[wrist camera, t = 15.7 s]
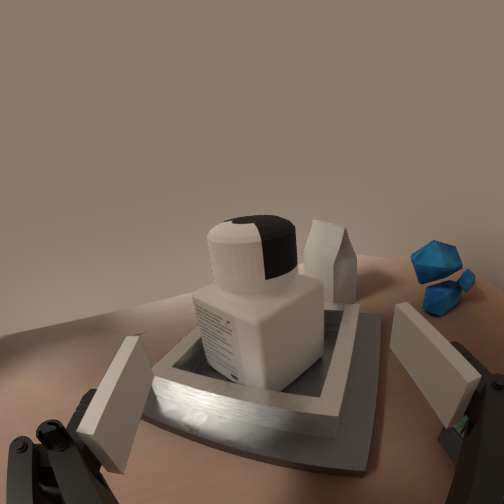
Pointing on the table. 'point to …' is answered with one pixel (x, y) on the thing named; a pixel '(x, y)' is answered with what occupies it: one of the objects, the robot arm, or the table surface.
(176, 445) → the table surface
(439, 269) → the blue lump
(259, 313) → the container
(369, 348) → the collar plate
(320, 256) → the tea bag
